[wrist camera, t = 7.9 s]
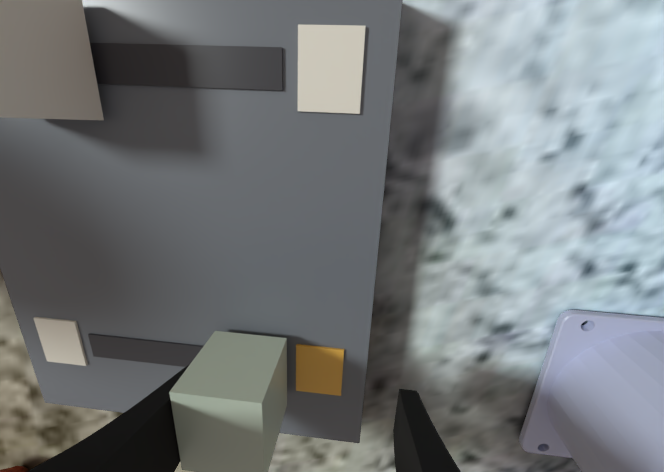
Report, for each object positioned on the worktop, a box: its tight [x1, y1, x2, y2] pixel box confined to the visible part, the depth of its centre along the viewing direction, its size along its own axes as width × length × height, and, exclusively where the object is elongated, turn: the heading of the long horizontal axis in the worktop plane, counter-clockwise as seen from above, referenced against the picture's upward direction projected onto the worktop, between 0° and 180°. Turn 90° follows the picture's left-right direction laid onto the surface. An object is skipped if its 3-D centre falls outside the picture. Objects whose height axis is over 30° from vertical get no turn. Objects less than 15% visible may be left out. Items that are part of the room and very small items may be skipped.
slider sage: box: [169, 331, 287, 472], centre depth 12 cm, size 3×4×3 cm
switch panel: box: [0, 0, 402, 443], centre depth 13 cm, size 16×18×2 cm
